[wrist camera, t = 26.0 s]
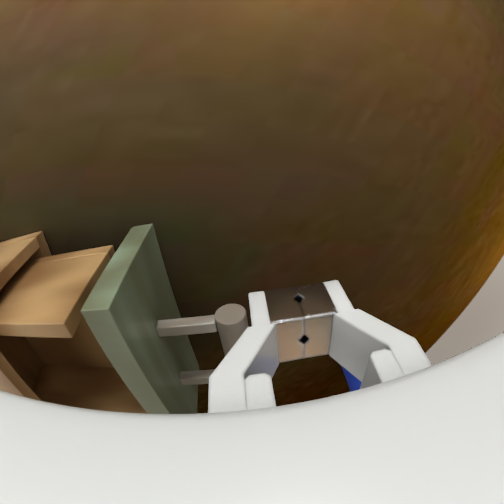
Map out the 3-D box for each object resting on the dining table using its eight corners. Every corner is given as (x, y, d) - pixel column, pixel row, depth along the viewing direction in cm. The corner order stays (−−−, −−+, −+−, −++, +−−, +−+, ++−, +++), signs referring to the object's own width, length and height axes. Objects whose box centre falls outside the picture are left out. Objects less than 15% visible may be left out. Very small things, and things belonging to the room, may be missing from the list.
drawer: (233, 210, 14) (239, 295, 8) (256, 360, 20) (266, 443, 14) (-12, 257, 14) (-63, 313, 8) (51, 365, 19) (27, 424, 13)
